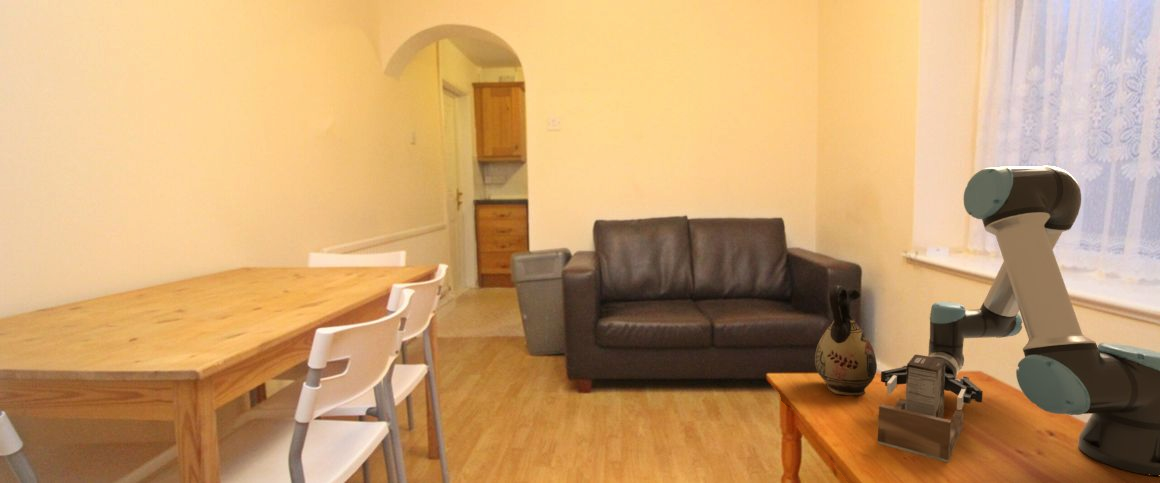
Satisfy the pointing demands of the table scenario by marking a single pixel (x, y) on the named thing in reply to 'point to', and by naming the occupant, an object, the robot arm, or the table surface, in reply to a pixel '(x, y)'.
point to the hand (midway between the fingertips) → (922, 396)
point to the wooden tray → (918, 431)
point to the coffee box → (925, 385)
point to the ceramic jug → (845, 349)
